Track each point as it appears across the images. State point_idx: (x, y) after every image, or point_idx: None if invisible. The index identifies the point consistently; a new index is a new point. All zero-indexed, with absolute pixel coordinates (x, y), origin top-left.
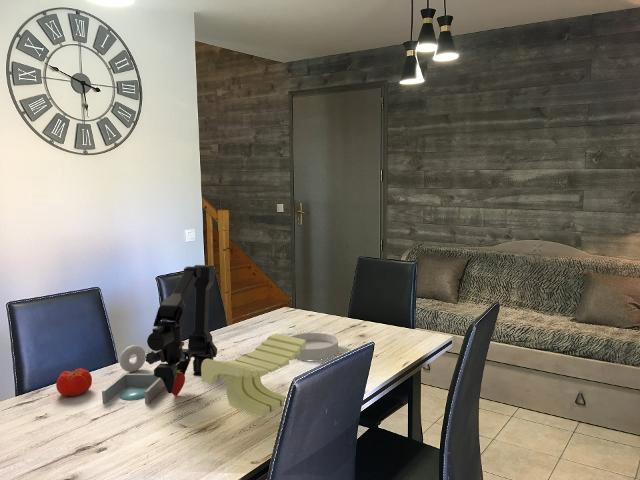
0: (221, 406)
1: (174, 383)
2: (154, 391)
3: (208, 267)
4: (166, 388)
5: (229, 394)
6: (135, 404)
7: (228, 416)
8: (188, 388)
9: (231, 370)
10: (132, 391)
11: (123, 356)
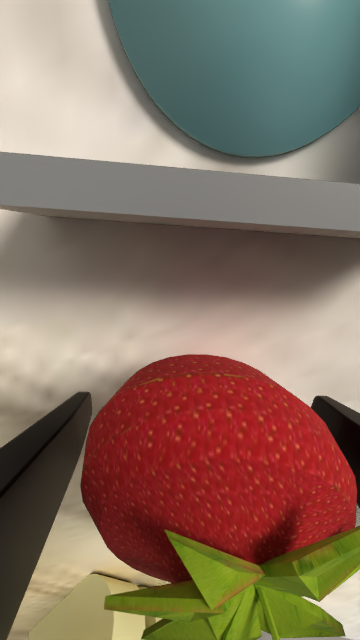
0: (83, 552)
1: (40, 539)
2: (179, 222)
3: None
4: (36, 424)
5: (106, 624)
6: (12, 81)
7: None
8: (299, 398)
9: None
10: None
11: None
